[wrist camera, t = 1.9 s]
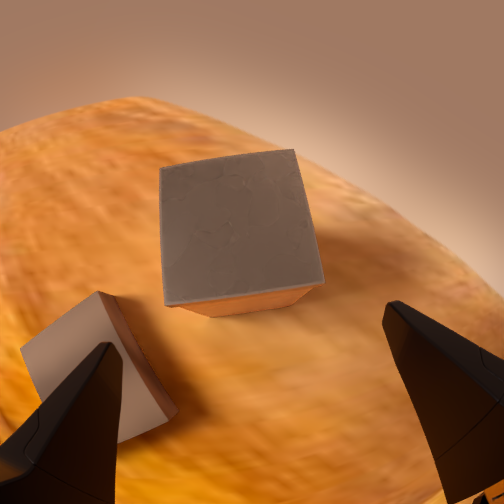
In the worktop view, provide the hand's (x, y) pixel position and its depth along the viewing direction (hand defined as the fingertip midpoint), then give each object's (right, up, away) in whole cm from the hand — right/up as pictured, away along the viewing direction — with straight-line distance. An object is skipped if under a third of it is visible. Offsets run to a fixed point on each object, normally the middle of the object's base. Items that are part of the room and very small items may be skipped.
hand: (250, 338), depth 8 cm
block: (-12, -8, +10) cm, 17 cm away
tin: (-1, +1, +12) cm, 12 cm away
